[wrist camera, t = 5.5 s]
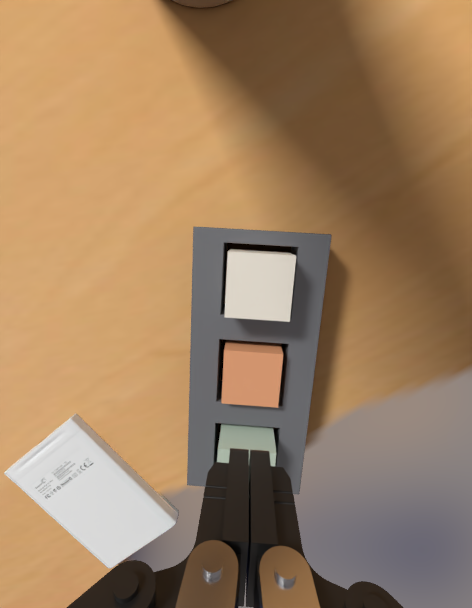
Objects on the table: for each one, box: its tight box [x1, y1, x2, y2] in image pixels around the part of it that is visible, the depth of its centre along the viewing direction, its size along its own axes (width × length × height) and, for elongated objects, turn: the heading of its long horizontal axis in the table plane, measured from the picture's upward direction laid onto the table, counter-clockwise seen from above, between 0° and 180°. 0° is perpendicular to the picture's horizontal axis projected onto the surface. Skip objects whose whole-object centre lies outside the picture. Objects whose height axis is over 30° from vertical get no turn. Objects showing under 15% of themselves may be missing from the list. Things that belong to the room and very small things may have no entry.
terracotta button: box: [221, 340, 283, 408], centre depth 20 cm, size 4×4×3 cm
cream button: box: [224, 249, 296, 322], centre depth 18 cm, size 4×4×3 cm
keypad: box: [187, 227, 331, 494], centre depth 21 cm, size 18×8×3 cm, turn 177°
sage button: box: [217, 423, 276, 466], centre depth 21 cm, size 4×4×3 cm
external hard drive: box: [4, 413, 179, 568], centre depth 26 cm, size 2×8×12 cm
